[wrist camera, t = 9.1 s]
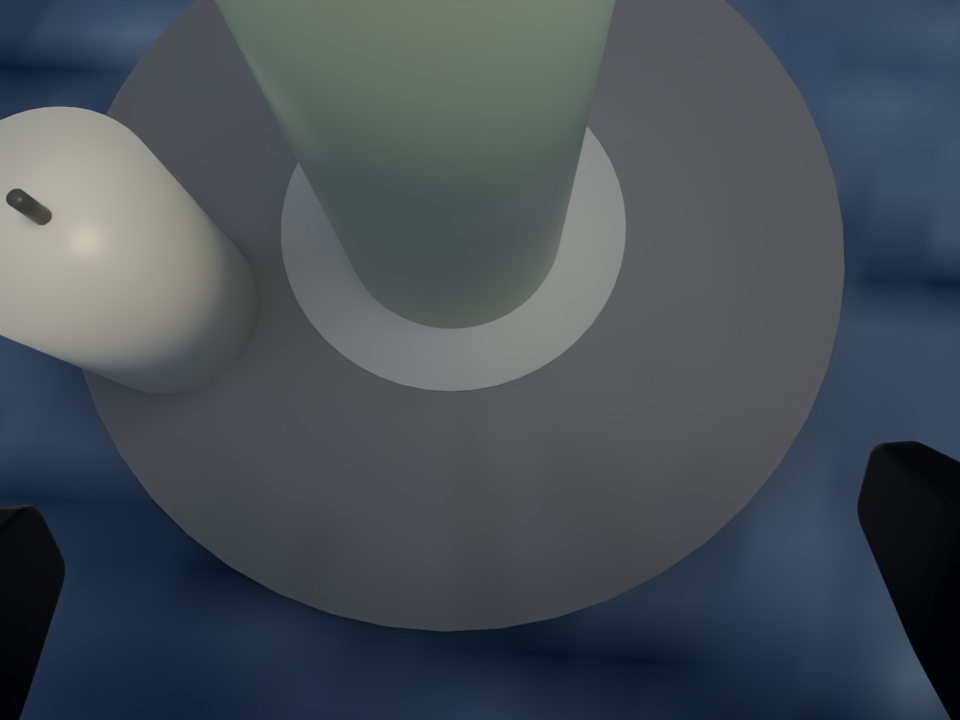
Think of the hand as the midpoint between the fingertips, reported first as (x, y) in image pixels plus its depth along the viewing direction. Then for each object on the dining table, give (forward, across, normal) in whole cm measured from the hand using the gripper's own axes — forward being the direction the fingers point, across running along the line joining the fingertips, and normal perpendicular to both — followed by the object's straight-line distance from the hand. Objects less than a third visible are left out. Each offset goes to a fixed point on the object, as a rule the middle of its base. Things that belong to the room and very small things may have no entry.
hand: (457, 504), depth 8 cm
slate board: (+11, 0, +1) cm, 11 cm away
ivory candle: (+9, +7, +2) cm, 12 cm away
